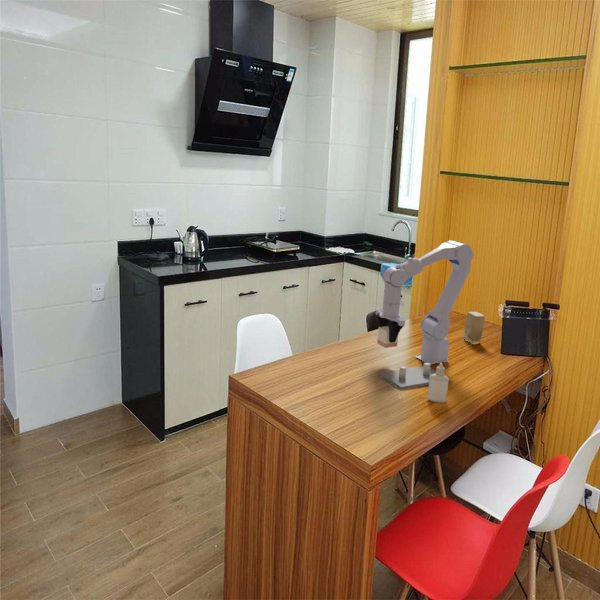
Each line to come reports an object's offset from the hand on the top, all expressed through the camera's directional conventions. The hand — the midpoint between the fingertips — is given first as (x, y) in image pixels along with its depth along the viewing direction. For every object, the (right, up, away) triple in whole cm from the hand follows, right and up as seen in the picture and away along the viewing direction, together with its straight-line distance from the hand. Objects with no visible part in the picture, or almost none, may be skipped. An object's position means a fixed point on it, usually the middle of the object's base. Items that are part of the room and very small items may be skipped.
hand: (387, 339), depth 190 cm
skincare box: (+40, -4, +31) cm, 50 cm away
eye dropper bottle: (+11, -17, -26) cm, 32 cm away
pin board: (+7, -12, -10) cm, 17 cm away
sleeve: (0, -2, 0) cm, 2 cm away
